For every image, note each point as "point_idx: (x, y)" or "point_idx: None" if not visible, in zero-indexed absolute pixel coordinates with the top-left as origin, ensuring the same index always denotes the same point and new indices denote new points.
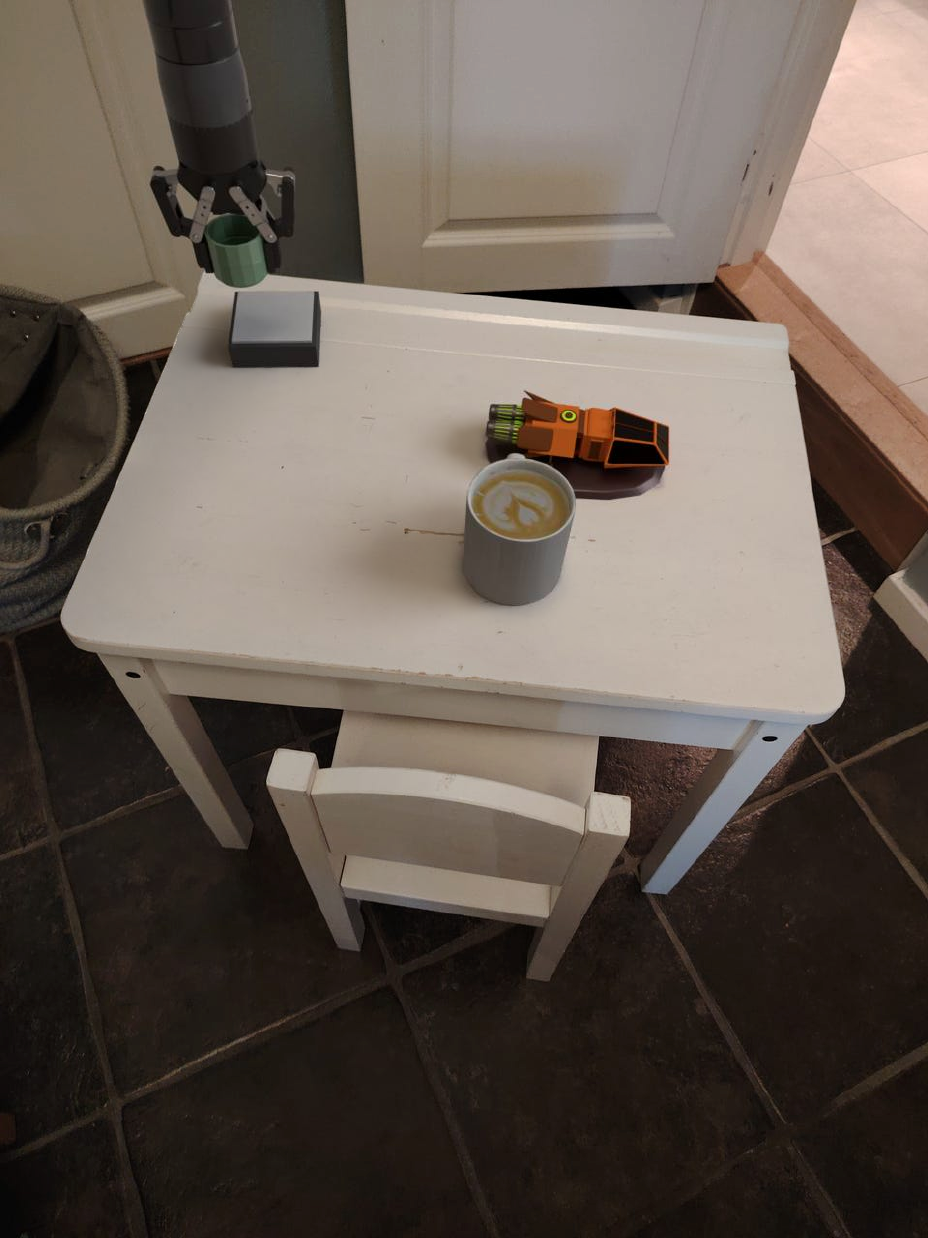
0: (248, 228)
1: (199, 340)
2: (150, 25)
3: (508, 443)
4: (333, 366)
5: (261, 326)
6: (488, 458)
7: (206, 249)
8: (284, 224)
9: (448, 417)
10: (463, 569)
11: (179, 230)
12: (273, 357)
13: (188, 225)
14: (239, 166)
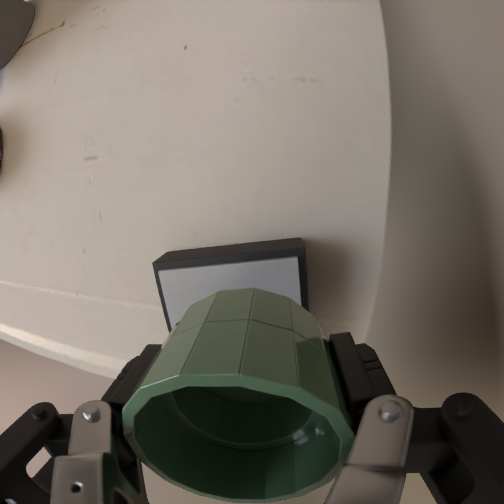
0: (219, 464)
1: (359, 293)
2: None
3: None
4: (147, 254)
5: None
6: (1, 134)
7: (346, 383)
8: (30, 431)
9: (25, 182)
10: (32, 12)
11: (453, 416)
12: (228, 249)
13: (416, 448)
14: None
